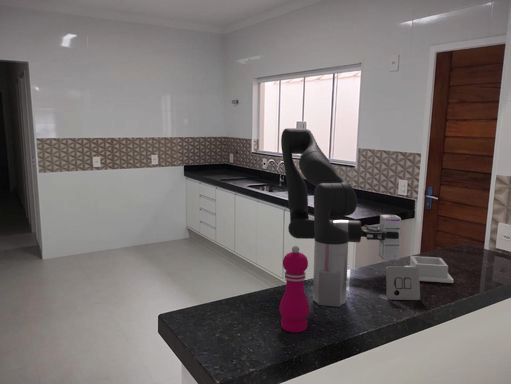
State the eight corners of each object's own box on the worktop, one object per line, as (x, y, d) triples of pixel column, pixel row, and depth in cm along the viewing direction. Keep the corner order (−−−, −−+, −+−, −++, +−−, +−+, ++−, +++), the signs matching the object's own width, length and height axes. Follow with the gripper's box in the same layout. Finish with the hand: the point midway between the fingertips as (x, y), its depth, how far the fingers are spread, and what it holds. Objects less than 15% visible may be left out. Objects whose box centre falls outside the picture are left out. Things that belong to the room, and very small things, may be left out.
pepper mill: (272, 326, 101) (274, 245, 98) (292, 317, 106) (293, 240, 103) (295, 336, 96) (297, 251, 93) (315, 326, 101) (317, 246, 98)
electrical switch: (387, 300, 118) (387, 267, 118) (382, 295, 123) (382, 264, 123) (420, 301, 118) (421, 268, 118) (414, 296, 123) (414, 265, 123)
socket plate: (453, 283, 133) (454, 267, 132) (410, 280, 136) (411, 265, 135) (443, 270, 146) (444, 256, 145) (404, 268, 148) (405, 254, 148)
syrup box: (400, 260, 139) (402, 217, 138) (382, 259, 139) (384, 217, 138) (394, 255, 145) (397, 214, 143) (377, 255, 145) (379, 214, 143)
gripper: (347, 223, 137) (400, 226, 133) (346, 216, 151) (394, 219, 147) (346, 246, 137) (399, 249, 134) (345, 237, 151) (393, 239, 148)
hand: (396, 233), depth 141 cm, fingers closed on syrup box, 6 cm apart
